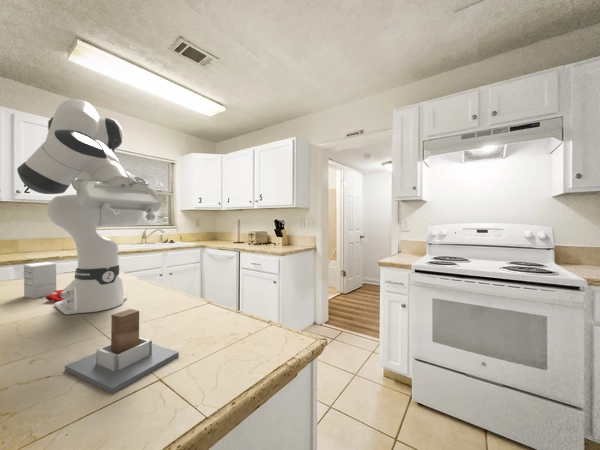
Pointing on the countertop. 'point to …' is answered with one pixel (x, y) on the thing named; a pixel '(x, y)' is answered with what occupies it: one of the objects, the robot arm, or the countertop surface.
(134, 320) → the block
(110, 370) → the grey socket base
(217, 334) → the countertop surface
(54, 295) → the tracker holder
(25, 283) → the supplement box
